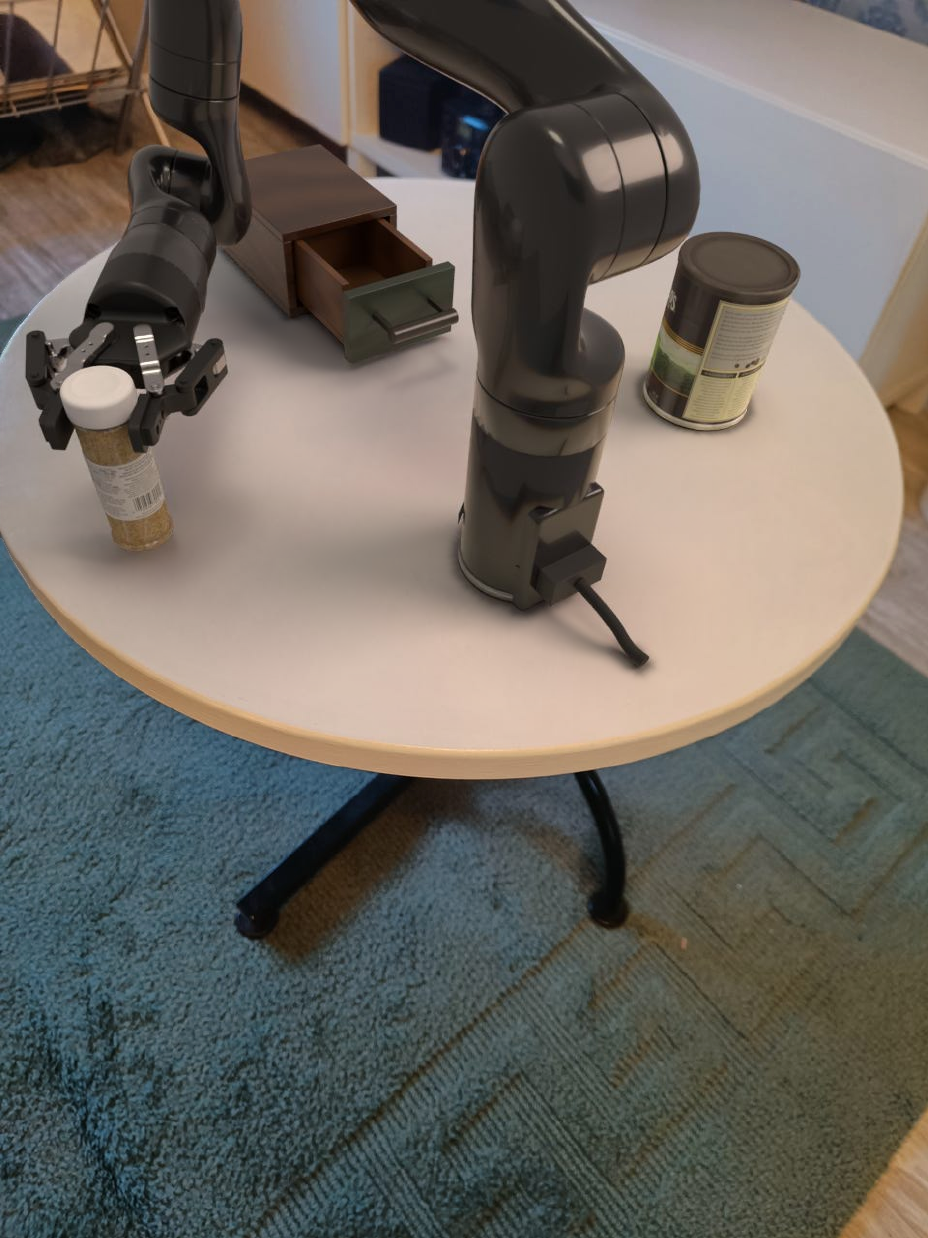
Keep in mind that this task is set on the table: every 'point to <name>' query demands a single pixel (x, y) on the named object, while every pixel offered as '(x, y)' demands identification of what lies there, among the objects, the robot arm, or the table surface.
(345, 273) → the drawer
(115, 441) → the sprinkles bottle
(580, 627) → the table surface
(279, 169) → the cabinet
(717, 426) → the coffee can
